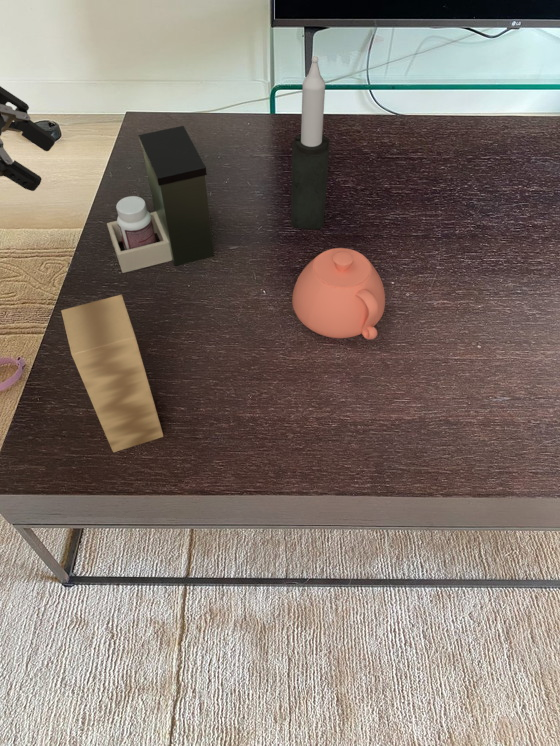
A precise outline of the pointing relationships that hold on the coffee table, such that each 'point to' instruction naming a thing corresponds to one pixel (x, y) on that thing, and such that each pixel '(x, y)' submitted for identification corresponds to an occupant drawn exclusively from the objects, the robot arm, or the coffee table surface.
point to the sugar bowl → (339, 295)
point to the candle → (310, 156)
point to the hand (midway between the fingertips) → (45, 164)
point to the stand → (112, 371)
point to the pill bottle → (134, 223)
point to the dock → (141, 248)
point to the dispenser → (179, 193)
